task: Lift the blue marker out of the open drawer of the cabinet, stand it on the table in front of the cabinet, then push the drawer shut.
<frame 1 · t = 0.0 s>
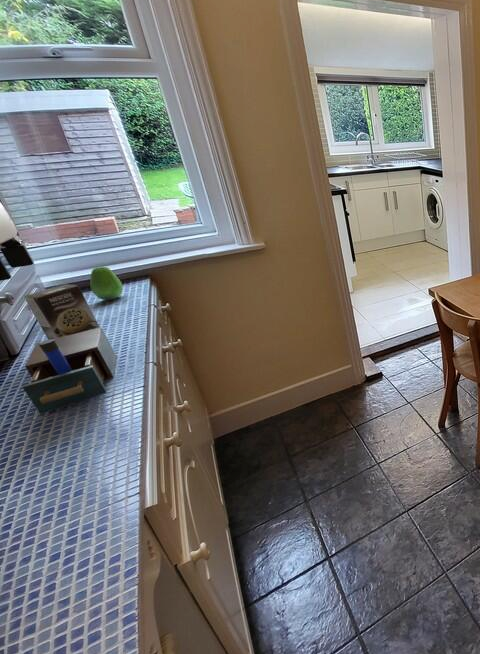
hand: (11, 272, 78), 30 cm above the worktop, tool pointing down, fingers open, 9 cm apart
drawer: (69, 381, 90), point 4 cm above the worktop, slide at 8.0 cm, touching marker
coffee box: (80, 343, 116), on the worktop
cabinet: (83, 375, 100), on the worktop
avocado: (113, 299, 146), on the worktop
marker: (74, 388, 91), point 2 cm above the worktop, touching drawer
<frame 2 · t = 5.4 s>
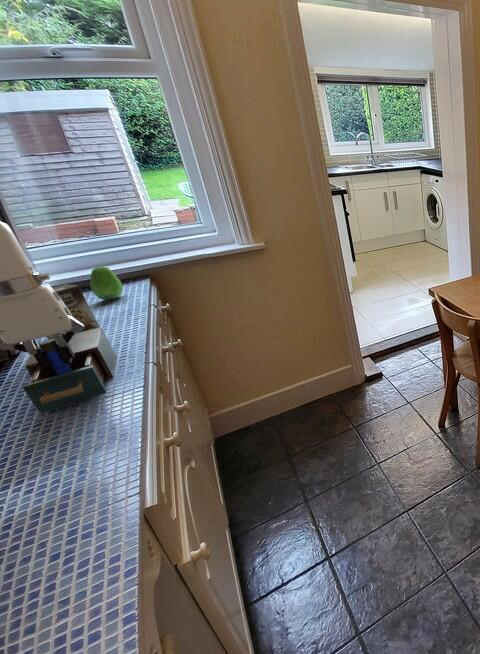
hand: (59, 363, 88), 9 cm above the worktop, tool pointing down, fingers closed on marker, 2 cm apart
marker: (74, 388, 91), point 2 cm above the worktop, touching drawer, gripper
everything else where it was.
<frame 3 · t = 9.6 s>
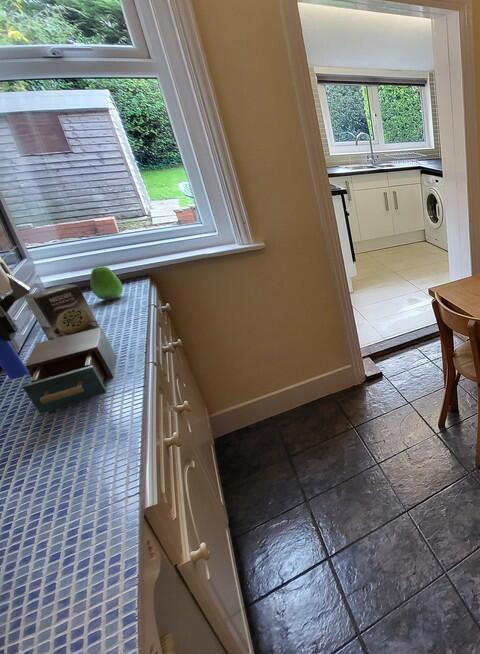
drawer: (69, 381, 90), point 4 cm above the worktop, slide at 8.0 cm
marker: (19, 375, 67), point 18 cm above the worktop, touching gripper
everything else where it was.
when the fingers open (7 cm above the worktop, at t = 13.8 s): marker stays where it is, on the worktop.
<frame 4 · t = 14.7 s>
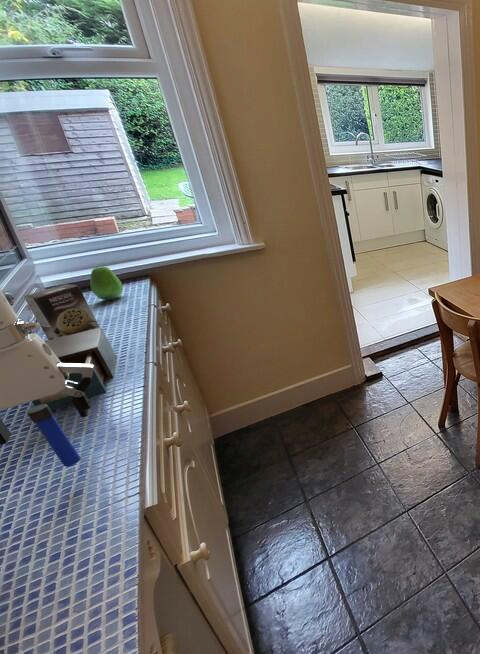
hand: (47, 425, 70), 8 cm above the worktop, tool pointing down, fingers open, 9 cm apart
marker: (72, 461, 73), on the worktop
everything else where it was.
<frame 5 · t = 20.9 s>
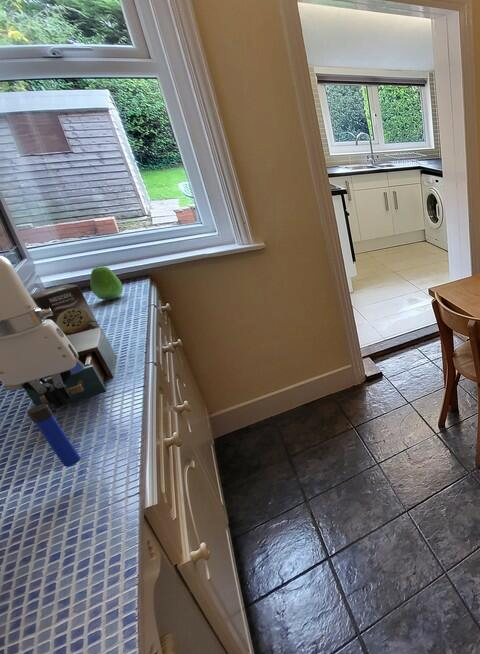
hand: (63, 403, 83), 4 cm above the worktop, tool pointing down, fingers closed
drawer: (69, 381, 90), point 4 cm above the worktop, slide at 7.7 cm, touching gripper
everything else where it was.
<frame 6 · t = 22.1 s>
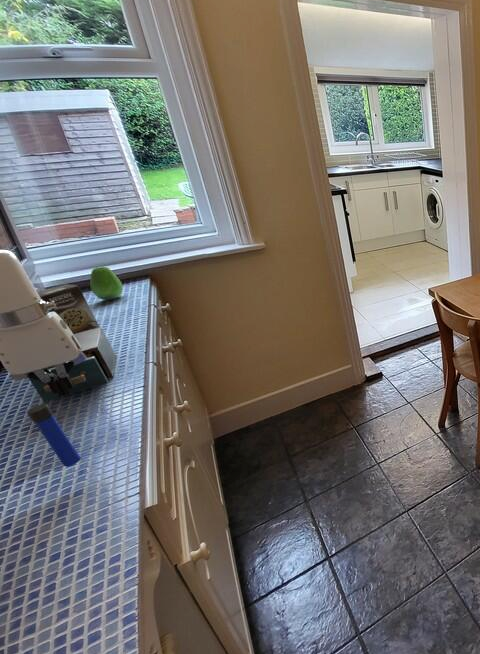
hand: (66, 392, 86), 4 cm above the worktop, tool pointing down, fingers closed
drawer: (71, 372, 93), point 4 cm above the worktop, slide at 2.9 cm, touching gripper
everything else where it was.
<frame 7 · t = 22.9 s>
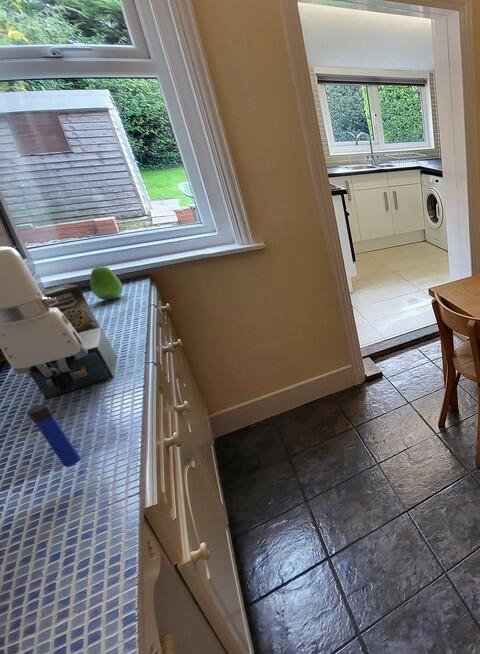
hand: (68, 386, 88), 4 cm above the worktop, tool pointing down, fingers closed
drawer: (73, 367, 95), point 4 cm above the worktop, slide at 0.0 cm, touching cabinet, gripper
everything else where it was.
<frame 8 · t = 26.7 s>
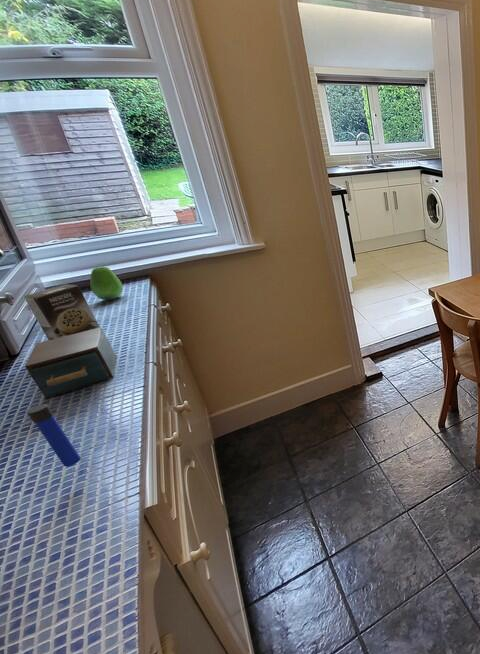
drawer: (73, 367, 95), point 4 cm above the worktop, slide at 0.0 cm, touching cabinet
everything else where it was.
at the end: marker inside the target area (0.2 cm from its centre), on the worktop; the gripper is holding nothing; drawer slide at 0.0 cm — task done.
